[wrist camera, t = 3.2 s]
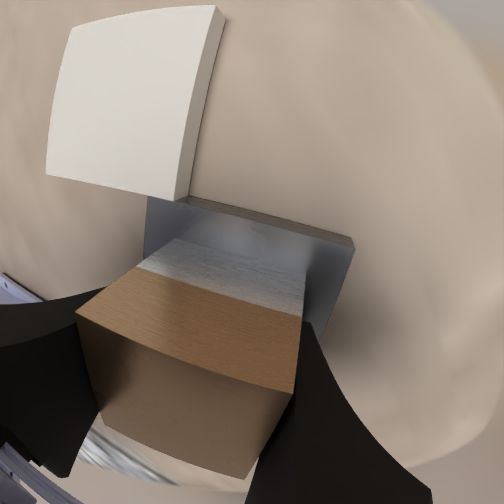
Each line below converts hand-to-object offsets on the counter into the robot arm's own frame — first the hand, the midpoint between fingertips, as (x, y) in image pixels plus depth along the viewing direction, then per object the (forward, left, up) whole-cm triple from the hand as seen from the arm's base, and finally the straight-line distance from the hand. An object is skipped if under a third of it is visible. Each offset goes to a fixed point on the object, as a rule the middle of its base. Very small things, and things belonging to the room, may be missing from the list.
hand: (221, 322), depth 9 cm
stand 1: (-6, +7, -2) cm, 9 cm away
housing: (0, 0, -1) cm, 1 cm away
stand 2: (0, 0, -2) cm, 2 cm away
